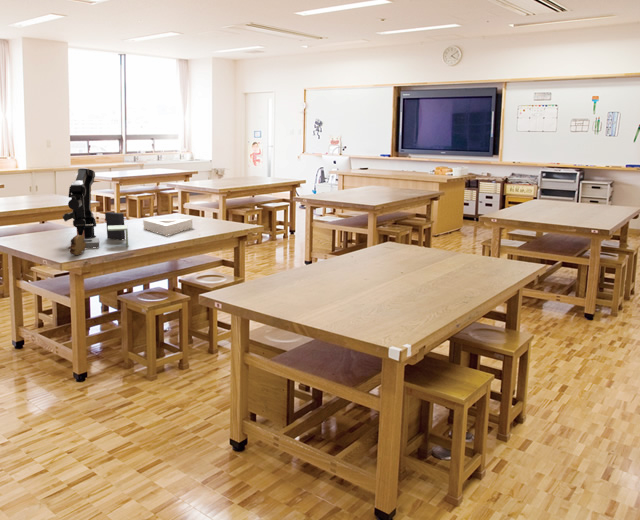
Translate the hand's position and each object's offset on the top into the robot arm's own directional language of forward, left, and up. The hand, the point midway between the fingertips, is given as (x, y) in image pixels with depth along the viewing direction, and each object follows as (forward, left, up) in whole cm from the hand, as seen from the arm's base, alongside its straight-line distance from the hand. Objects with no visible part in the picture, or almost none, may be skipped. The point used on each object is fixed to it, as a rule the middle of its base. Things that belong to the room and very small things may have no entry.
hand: (80, 235), depth 346 cm
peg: (0, 0, -4) cm, 4 cm away
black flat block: (-19, +5, -4) cm, 20 cm away
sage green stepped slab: (-9, +21, -4) cm, 23 cm away
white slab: (-60, +6, -5) cm, 60 cm away
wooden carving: (+19, +27, -4) cm, 33 cm away
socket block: (+4, +12, -4) cm, 13 cm away
